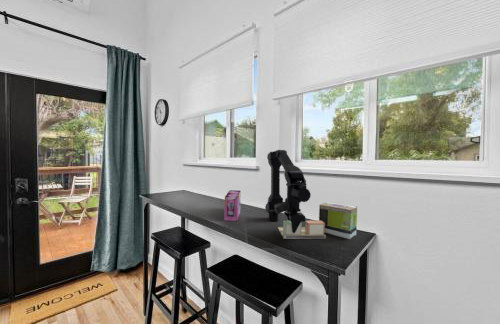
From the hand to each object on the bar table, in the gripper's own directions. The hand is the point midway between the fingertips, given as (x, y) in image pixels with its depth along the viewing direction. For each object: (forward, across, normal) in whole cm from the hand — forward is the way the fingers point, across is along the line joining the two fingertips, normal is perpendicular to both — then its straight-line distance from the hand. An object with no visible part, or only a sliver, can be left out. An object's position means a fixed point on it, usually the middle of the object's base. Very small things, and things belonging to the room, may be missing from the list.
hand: (292, 230), depth 101 cm
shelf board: (+4, -4, +5) cm, 8 cm away
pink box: (+2, 0, +10) cm, 11 cm away
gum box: (+4, -38, -28) cm, 47 cm away
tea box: (+4, -5, +24) cm, 24 cm away
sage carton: (+2, 0, 0) cm, 2 cm away
